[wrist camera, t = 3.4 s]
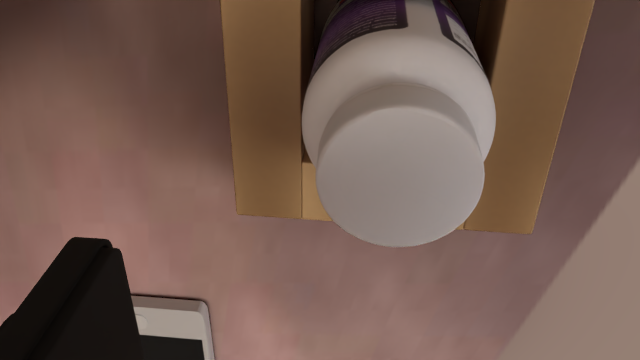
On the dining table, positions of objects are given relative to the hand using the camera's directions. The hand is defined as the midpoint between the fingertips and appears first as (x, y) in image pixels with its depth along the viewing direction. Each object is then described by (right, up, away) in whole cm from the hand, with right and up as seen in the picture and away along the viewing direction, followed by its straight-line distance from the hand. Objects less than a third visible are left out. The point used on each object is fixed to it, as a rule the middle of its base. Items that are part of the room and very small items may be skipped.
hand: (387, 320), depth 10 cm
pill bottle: (+2, +8, +12) cm, 14 cm away
